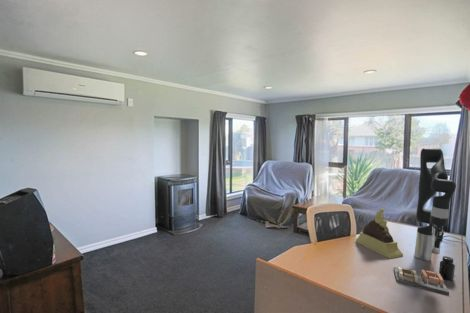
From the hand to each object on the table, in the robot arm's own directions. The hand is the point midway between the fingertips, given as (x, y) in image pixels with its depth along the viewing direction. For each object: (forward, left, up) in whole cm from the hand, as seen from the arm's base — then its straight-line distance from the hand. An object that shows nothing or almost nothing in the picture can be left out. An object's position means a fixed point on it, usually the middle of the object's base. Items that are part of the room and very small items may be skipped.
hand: (435, 246), depth 144 cm
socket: (0, 0, -19) cm, 19 cm away
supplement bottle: (-11, +9, -21) cm, 26 cm away
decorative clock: (-36, -25, -21) cm, 48 cm away
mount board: (+2, -6, -21) cm, 22 cm away
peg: (0, 0, -4) cm, 4 cm away
